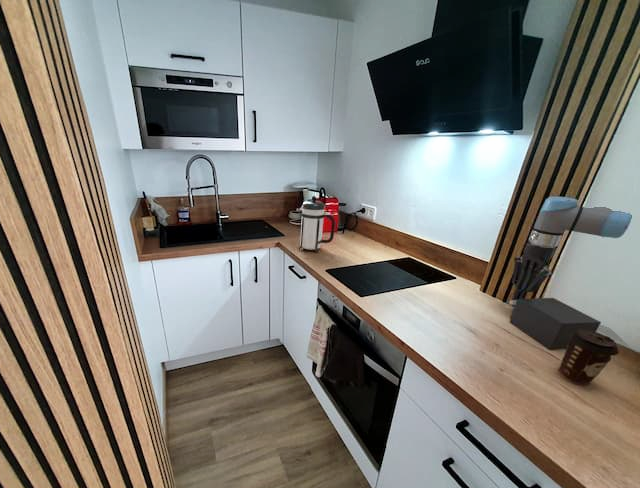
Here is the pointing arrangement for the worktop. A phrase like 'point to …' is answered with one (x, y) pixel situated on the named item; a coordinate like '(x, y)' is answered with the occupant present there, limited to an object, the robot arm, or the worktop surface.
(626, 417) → the worktop surface
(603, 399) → the worktop surface
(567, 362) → the coffee cup
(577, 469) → the worktop surface
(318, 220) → the coffee press
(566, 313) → the dark grey low box
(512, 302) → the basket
